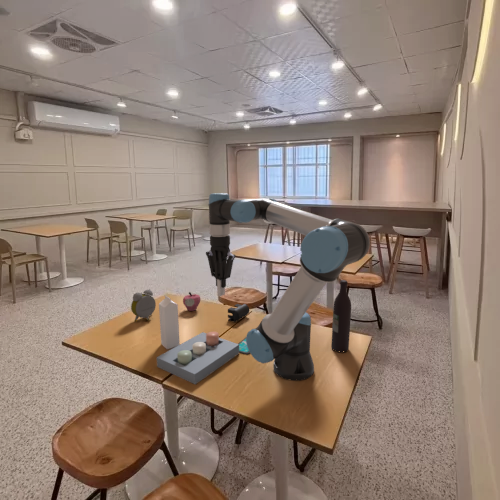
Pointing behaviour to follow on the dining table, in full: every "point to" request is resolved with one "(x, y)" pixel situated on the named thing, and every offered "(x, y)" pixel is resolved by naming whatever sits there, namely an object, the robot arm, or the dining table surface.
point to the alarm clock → (143, 304)
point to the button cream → (199, 348)
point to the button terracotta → (212, 338)
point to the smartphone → (243, 347)
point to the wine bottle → (341, 319)
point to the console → (198, 359)
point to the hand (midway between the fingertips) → (221, 294)
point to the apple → (191, 301)
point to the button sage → (184, 357)
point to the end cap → (238, 312)
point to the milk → (169, 323)
